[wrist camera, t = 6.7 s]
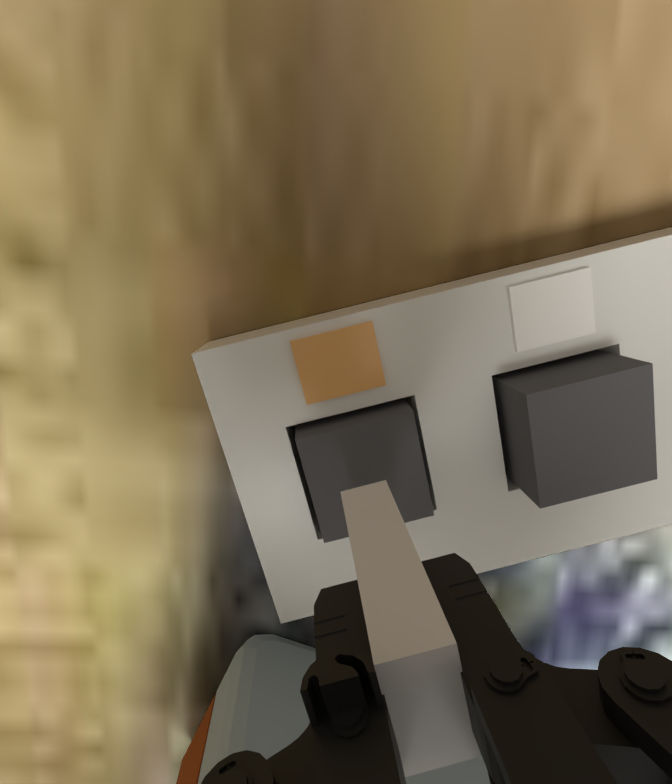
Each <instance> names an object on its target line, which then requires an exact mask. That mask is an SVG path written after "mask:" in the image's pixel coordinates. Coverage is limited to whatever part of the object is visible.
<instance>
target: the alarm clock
mask: <svg viewBox="0 0 672 784" xmlns="http://www.w3.org/2000/svg"><path fill="white" fill-rule="evenodd" d="M315 661H316V649H315V648H314V647H311V646H307V645H304V644H301V643H298V642H295V641H292V640H289V639H286V638H283V637H280V636H277V635H274V634H266V635H254V636H252V637H251V638H249V639H248V640H247V641H246V642H245V643H244V644H243V645H242V646H241V648H240V649H239V650H238V651H237V652H236V653H235V655H234V657H233V659H232V661H231V664H230V666H229V668H228V670H227V672H226V674H225V676H224V678H223V680H222V682H221V684H220V686H219V688H218V690H217V692H216V694H215V696H214V698H213V700H212V702H211V704H210V706H209V708H208V710H207V712H206V714H205V716H204V718H203V720H202V722H201V724H200V726H199V728H198V730H197V732H196V734H195V736H194V738H193V740H192V742H191V744H190V746H189V748H188V750H187V752H186V754H185V756H184V758H183V760H182V763H181V767H180V771H179V775H178V779H177V783H176V784H201V783H202V781H203V779H204V777H205V776H206V775H207V774H208V773H209V772H210V770H211V769H212V768H213V767H214V766H215V765H216V764H217V763H218V762H219V761H221V760H223V759H224V758H226V757H227V756H229V755H231V754H232V753H236V752H241V751H245V750H249V751H253V752H258V753H260V754H261V755H262V756H263V757H264V758H265V759H266V760H267V759H268V758H270V757H271V756H273V755H274V754H276V753H278V752H279V751H281V750H282V749H284V748H285V747H287V746H288V745H290V744H291V743H292V742H293V741H295V740H296V739H297V738H299V736H300V735H301V734H302V733H303V732H304V731H305V729H306V728H307V727H308V725H309V723H310V720H309V717H308V714H307V711H306V708H305V705H304V702H303V699H302V696H301V693H300V688H301V683H302V678H303V676H304V675H305V673H306V671H307V670H308V668H309V666H310V665H311V664H312V663H313V662H315ZM478 750H479V747H478ZM479 754H480V757H478V758H475V759H471V760H467V761H464V762H460V763H456V764H452V765H449V766H445V767H441V768H438V769H434V770H430V771H427V772H423V773H419V774H415V775H412V776H408V777H405V780H406V784H490V781H489V776H488V771H487V768H486V765H485V763H484V760H483V758H482V755H481V752H480V750H479Z"/></svg>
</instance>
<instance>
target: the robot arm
mask: <svg viewBox="0 0 672 784" xmlns="http://www.w3.org/2000/svg"><path fill="white" fill-rule="evenodd" d="M341 498H342V503H343V508H344V513H345V518H346V523H347V529H348V534H349V539H350V544H351V549H352V555H353V560H354V565H355V570H356V575H357V580H354V581H350V582H346V583H342V584H338V585H334V586H331V587H327V588H323V589H321V590H320V592H319V595H318V597H317V599H316V601H315V604H314V623H315V639H316V641H315V649H316V661H315V662H313V663H312V664H311V665H310V666H309V668H308V670H307V671H306V673H305V675H304V676H303V678H302V683H301V688H300V693H301V696H302V699H303V702H304V705H305V708H306V711H307V714H308V717H309V720H310V723H309V725H308V727H307V728H306V729H305V731H304V732H303V733H302V734H301V735H300V736H299V738H297V739H296V740H295V741H293V742H292V743H291V744H290V745H288V746H287V747H285V748H284V749H282V750H281V751H279V752H278V753H276V754H274V755H273V756H271V757H270V758H268V759H267V760H266V759H265V758H264V757H263V756H262V755H261V754H260V753H258V752H253V751H249V750H245V751H241V752H236V753H232V754H231V755H229V756H227V757H226V758H224V759H223V760H221V761H219V762H218V763H217V764H216V765H215V766H214V767H213V768H212V769H211V770H210V772H209V773H208V774H207V775H206V776H205V777H204V779H203V781H202V783H201V784H406V780H405V777H408V776H412V775H415V774H419V773H423V772H427V771H430V770H434V769H438V768H441V767H445V766H449V765H452V764H456V763H460V762H464V761H467V760H471V759H475V758H478V757H480V754H479V750H480V752H481V755H482V758H483V760H484V763H485V765H486V768H487V771H488V776H489V781H490V784H672V661H671V660H669V659H667V658H665V657H664V656H662V655H660V654H658V653H655V652H652V651H649V650H645V649H642V648H630V647H622V648H618V649H615V650H612V651H609V652H608V653H607V654H606V655H605V656H604V657H603V658H602V659H600V662H599V667H598V670H588V669H568V668H561V667H555V666H552V665H549V664H546V663H543V662H541V661H539V660H538V659H536V658H535V657H534V655H533V654H531V653H529V652H527V651H525V650H524V649H523V648H522V647H521V645H520V644H519V643H518V642H517V640H516V638H515V637H514V635H513V633H512V632H511V630H510V628H509V627H508V625H507V623H506V622H505V620H504V619H503V617H502V615H501V614H500V612H499V610H498V609H497V607H496V605H495V604H494V602H493V600H492V599H491V597H490V595H489V594H488V593H487V591H486V589H485V587H484V586H483V584H482V582H481V581H480V580H479V577H478V576H477V574H476V572H475V571H474V569H473V567H472V566H471V564H470V563H469V562H467V561H466V560H465V559H463V558H462V557H460V556H459V555H457V554H456V553H452V554H448V555H444V556H440V557H436V558H432V559H429V560H425V561H421V560H420V558H419V555H418V553H417V551H416V548H415V546H414V544H413V541H412V539H411V537H410V535H409V532H408V530H407V528H406V525H405V523H404V521H403V518H402V516H401V514H400V512H399V509H398V507H397V505H396V502H395V500H394V498H393V495H392V493H391V491H390V489H389V486H388V484H387V482H386V480H384V481H380V482H376V483H372V484H368V485H364V486H360V487H357V488H353V489H349V490H345V491H341ZM478 747H479V750H478Z"/></svg>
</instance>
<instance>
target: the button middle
mask: <svg viewBox="0 0 672 784" xmlns="http://www.w3.org/2000/svg"><path fill="white" fill-rule="evenodd" d="M492 382H493V389H494V396H495V403H496V410H497V417H498V424H499V431H500V437H501V444H502V451H503V458H504V465H505V472H506V476H508V477H509V478H510V479H511V480H512V481H513V482H514V483H515V484H516V485H517V486H518V487H519V488H520V489H521V490H522V491H523V492H524V493H525V494H526V495H527V496H528V497H529V498H530V499H531V500H532V501H533V502H534V503H535V504H536V505H537V506H538V507H539V508H540V509H541V508H545V507H549V506H553V505H557V504H561V503H565V502H569V501H573V500H577V499H580V498H584V497H588V496H592V495H596V494H600V493H604V492H608V491H612V490H616V489H620V488H624V487H628V486H632V485H636V484H640V483H644V482H648V481H652V480H656V479H657V456H656V432H655V408H654V384H653V363H649V362H645V361H641V360H637V359H633V358H629V357H625V356H621V355H617V354H613V353H609V352H605V351H601V350H597V349H596V350H592V351H588V352H584V353H580V354H576V355H572V356H568V357H564V358H560V359H556V360H552V361H548V362H544V363H540V364H536V365H532V366H528V367H524V368H520V369H516V370H512V371H508V372H504V373H500V374H496V375H492Z"/></svg>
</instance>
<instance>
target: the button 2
mask: <svg viewBox="0 0 672 784" xmlns="http://www.w3.org/2000/svg"><path fill="white" fill-rule="evenodd" d="M295 442H296V445H297V449H298V452H299V456H300V459H301V463H302V467H303V470H304V474H305V477H306V481H307V484H308V488H309V491H310V495H311V498H312V502H313V505H314V509H315V513H316V516H317V520H318V523H319V527H320V530H321V534H322V537H323V541H324V543H327V542H331V541H335V540H339V539H343V538H347V537H349V534H348V529H347V523H346V518H345V513H344V508H343V503H342V498H341V491H345V490H349V489H353V488H357V487H360V486H364V485H368V484H372V483H376V482H380V481H384V480H386V482H387V484H388V486H389V489H390V491H391V493H392V495H393V498H394V500H395V502H396V505H397V507H398V509H399V512H400V514H401V516H402V518H403V521H404V523H406V522H410V521H414V520H418V519H422V518H426V517H430V516H434V511H433V506H432V501H431V496H430V491H429V486H428V481H427V476H426V471H425V466H424V461H423V456H422V451H421V446H420V441H419V436H418V431H417V426H416V421H415V416H414V411H413V409H412V408H411V407H410V406H409V405H408V403H407V402H406V401H405V400H404V398H400V399H396V400H392V401H388V402H384V403H380V404H376V405H372V406H368V407H364V408H360V409H356V410H352V411H348V412H344V413H340V414H336V415H332V416H328V417H324V418H320V419H316V420H312V421H308V422H304V423H300V424H296V430H295Z"/></svg>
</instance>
